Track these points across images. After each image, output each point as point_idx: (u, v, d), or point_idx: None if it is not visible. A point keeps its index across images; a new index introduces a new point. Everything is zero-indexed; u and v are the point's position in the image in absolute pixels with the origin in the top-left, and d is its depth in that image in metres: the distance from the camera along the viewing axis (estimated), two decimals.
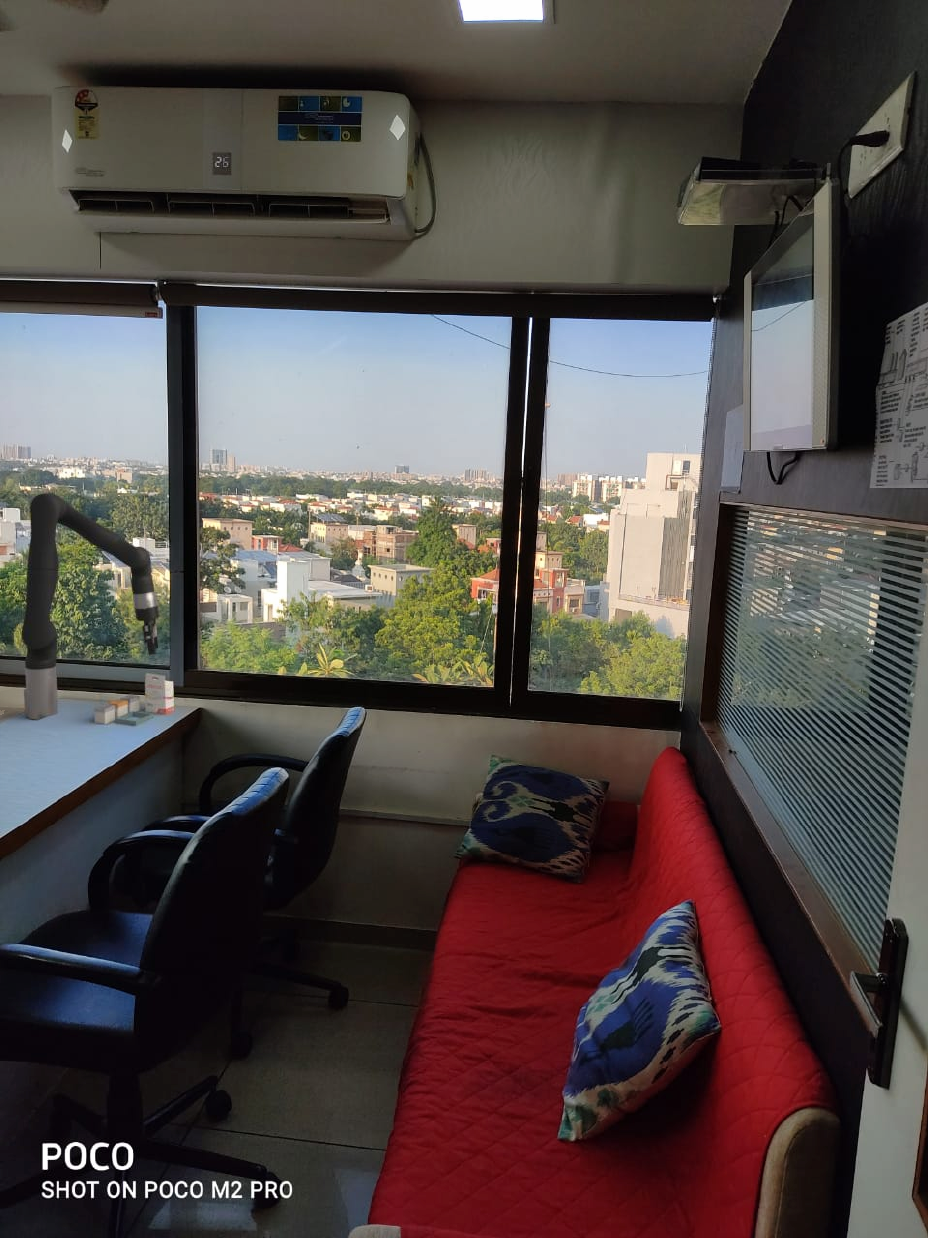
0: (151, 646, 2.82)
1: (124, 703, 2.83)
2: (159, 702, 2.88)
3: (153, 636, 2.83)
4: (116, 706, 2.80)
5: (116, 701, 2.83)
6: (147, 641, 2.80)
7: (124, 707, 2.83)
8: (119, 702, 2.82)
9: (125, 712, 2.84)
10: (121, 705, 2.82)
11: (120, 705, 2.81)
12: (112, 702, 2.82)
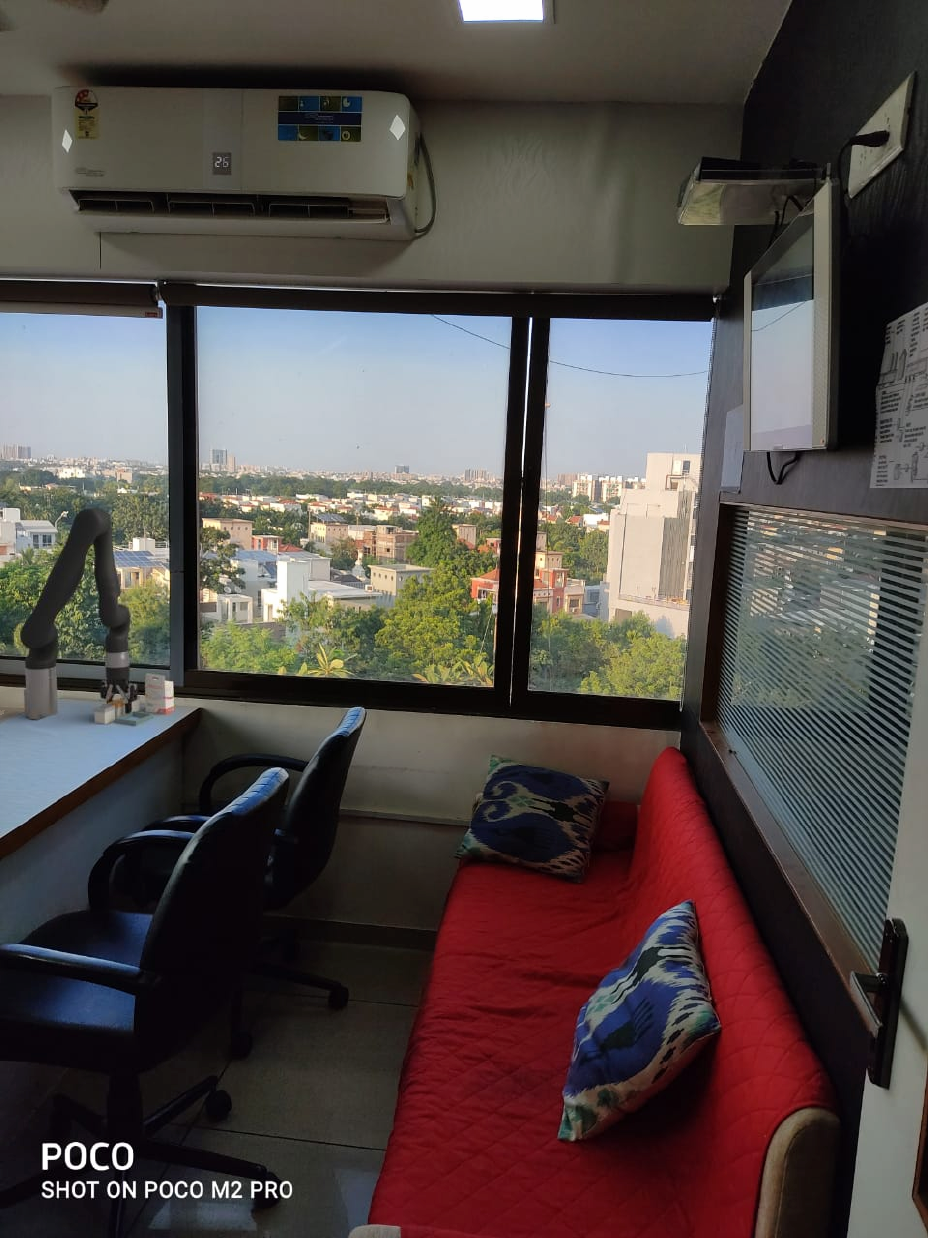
0: (130, 705, 2.82)
1: (124, 703, 2.83)
2: (159, 702, 2.88)
3: (129, 694, 2.83)
4: (116, 706, 2.80)
5: (116, 701, 2.83)
6: (133, 700, 2.81)
7: (124, 707, 2.83)
8: (119, 702, 2.82)
9: None
10: (121, 705, 2.82)
11: (120, 705, 2.81)
12: (112, 702, 2.82)
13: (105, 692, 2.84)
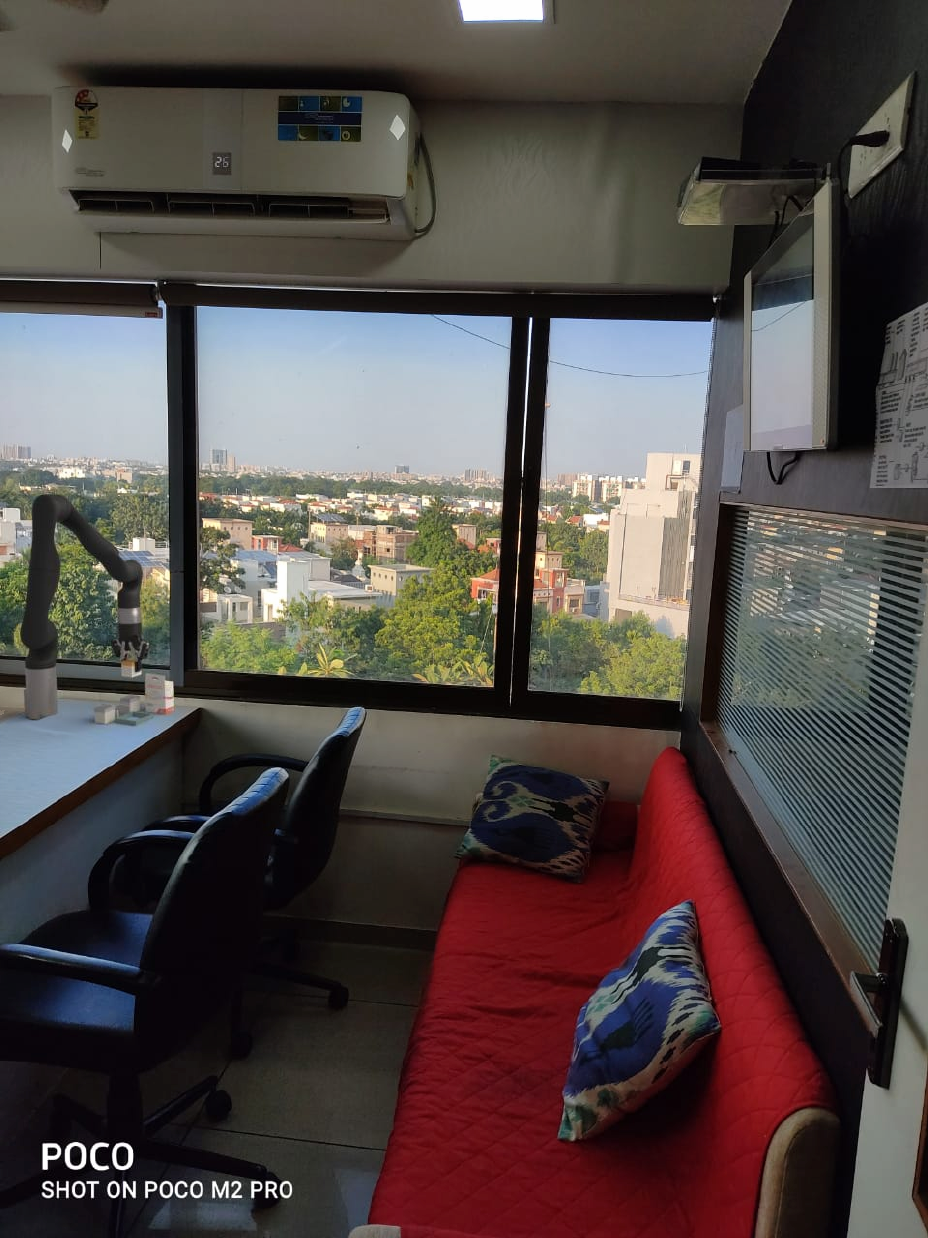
0: (140, 663, 2.77)
1: None
2: (159, 702, 2.88)
3: None
4: (130, 665, 2.75)
5: (130, 660, 2.77)
6: (143, 658, 2.75)
7: None
8: (133, 661, 2.77)
9: None
10: None
11: (134, 664, 2.76)
12: (126, 661, 2.76)
13: (119, 651, 2.79)
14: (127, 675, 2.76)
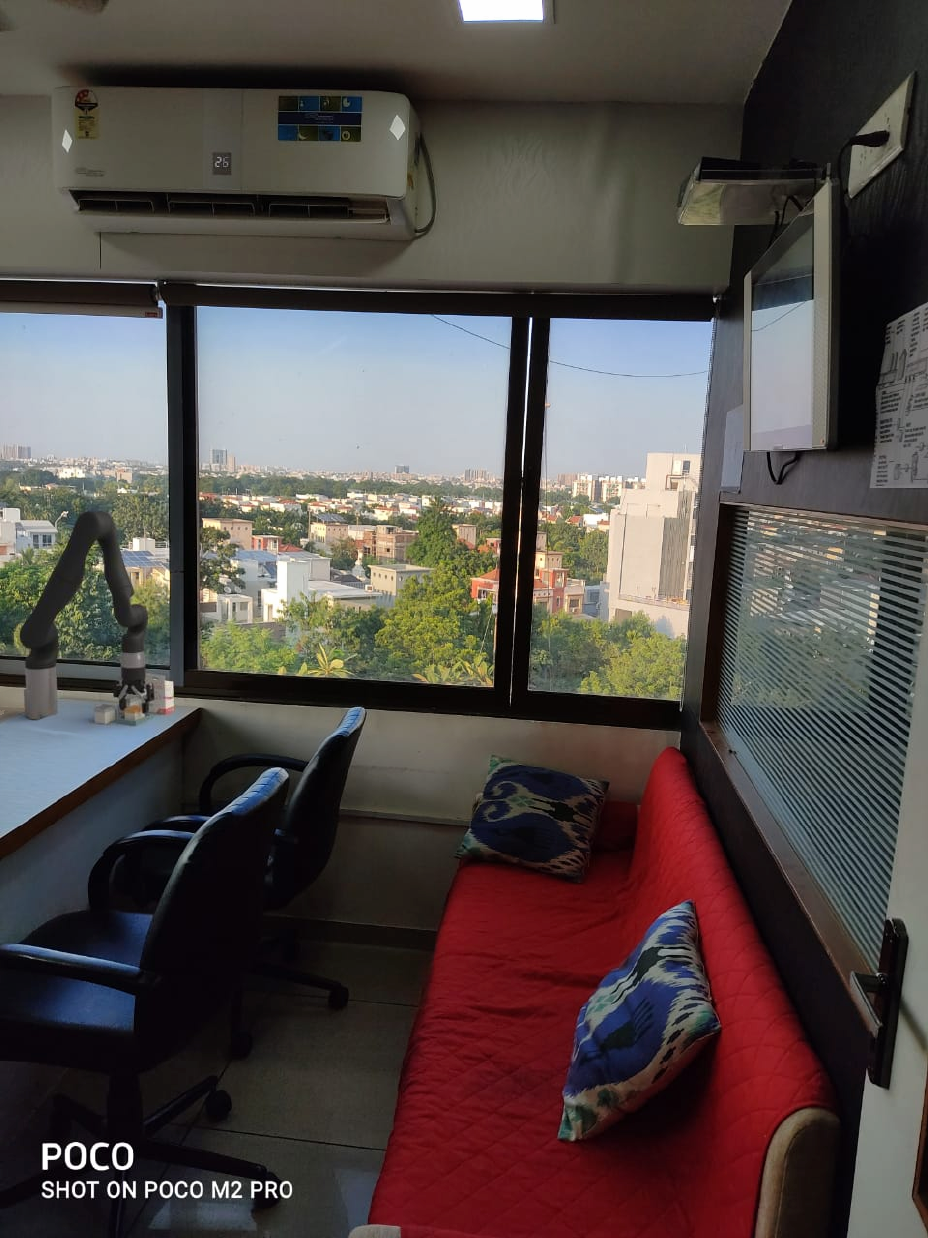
0: (148, 705, 2.78)
1: (141, 709, 2.79)
2: (159, 702, 2.88)
3: (146, 694, 2.78)
4: (133, 712, 2.76)
5: (133, 707, 2.79)
6: (151, 699, 2.76)
7: (141, 712, 2.79)
8: (136, 708, 2.78)
9: None
10: (138, 711, 2.78)
11: (137, 711, 2.77)
12: (129, 708, 2.78)
13: (118, 691, 2.81)
14: None
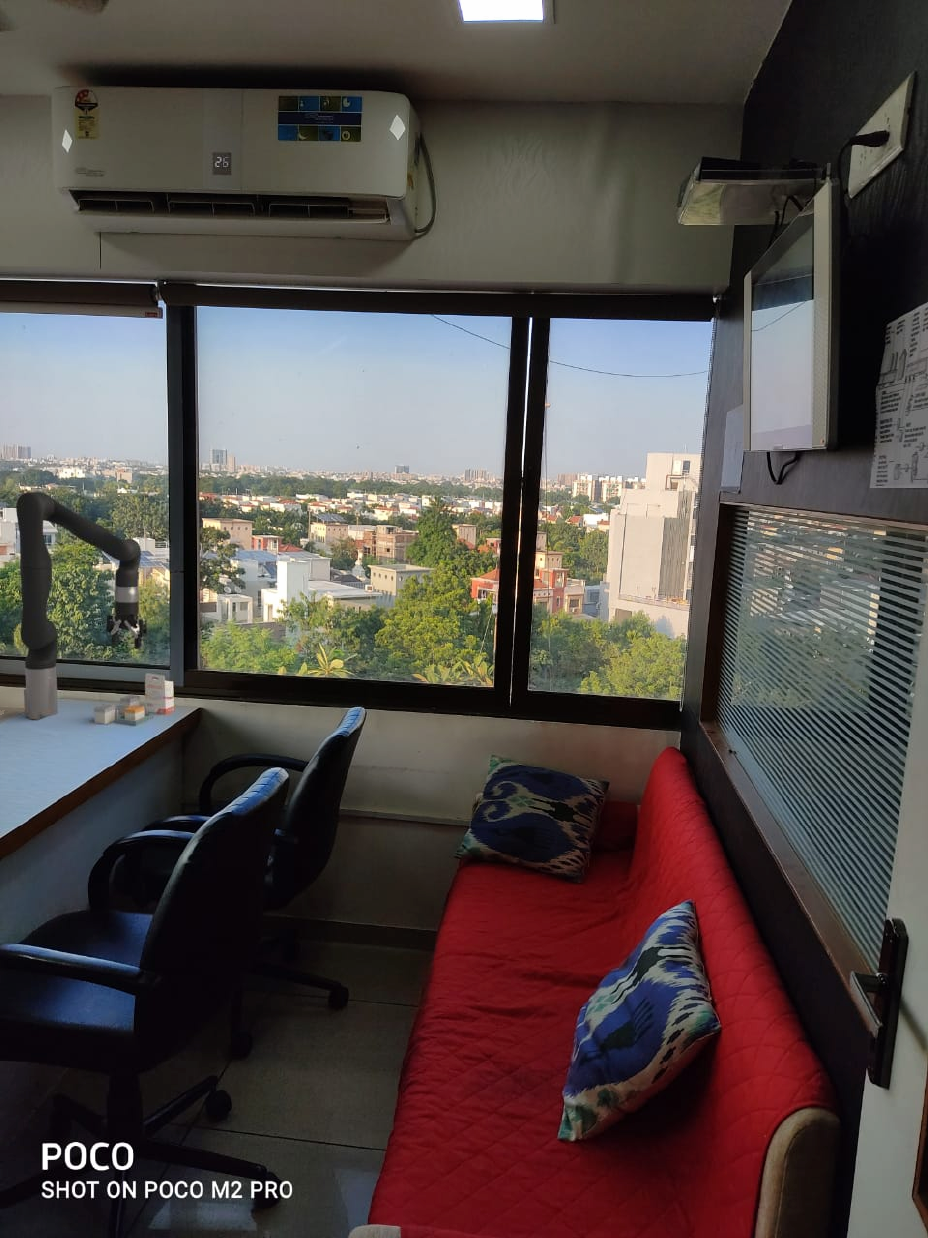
0: (140, 640, 2.78)
1: (141, 709, 2.79)
2: (159, 702, 2.88)
3: (139, 630, 2.79)
4: (133, 712, 2.76)
5: (133, 707, 2.79)
6: (143, 634, 2.77)
7: (141, 712, 2.79)
8: (136, 708, 2.78)
9: None
10: (138, 711, 2.78)
11: (137, 711, 2.77)
12: (129, 708, 2.78)
13: (111, 626, 2.81)
14: None
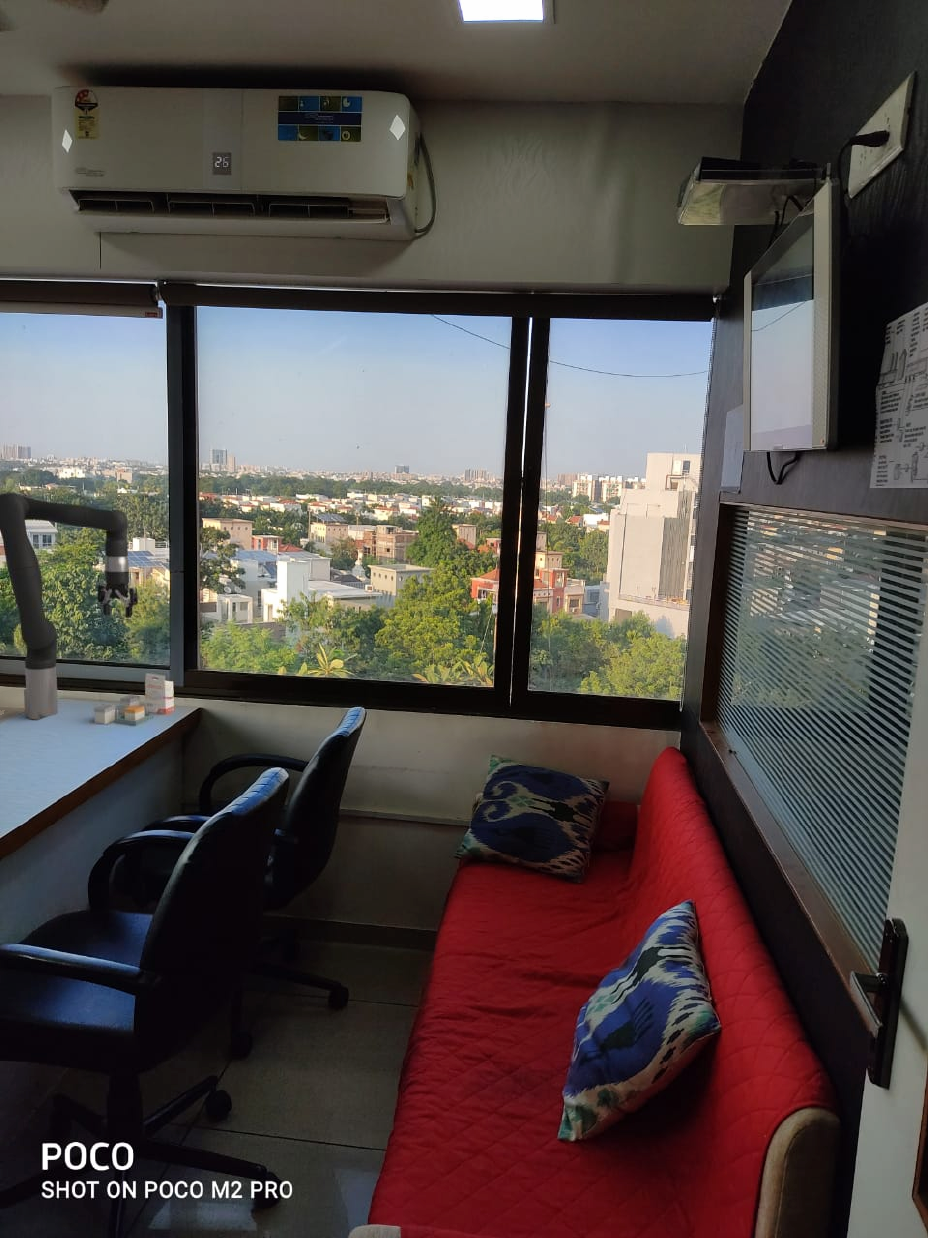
0: (131, 609, 2.84)
1: (141, 709, 2.79)
2: (159, 702, 2.88)
3: (129, 599, 2.84)
4: (133, 712, 2.76)
5: (133, 707, 2.79)
6: (134, 603, 2.82)
7: (141, 712, 2.79)
8: (136, 708, 2.78)
9: None
10: (138, 711, 2.78)
11: (137, 711, 2.77)
12: (129, 708, 2.78)
13: (102, 596, 2.86)
14: None
